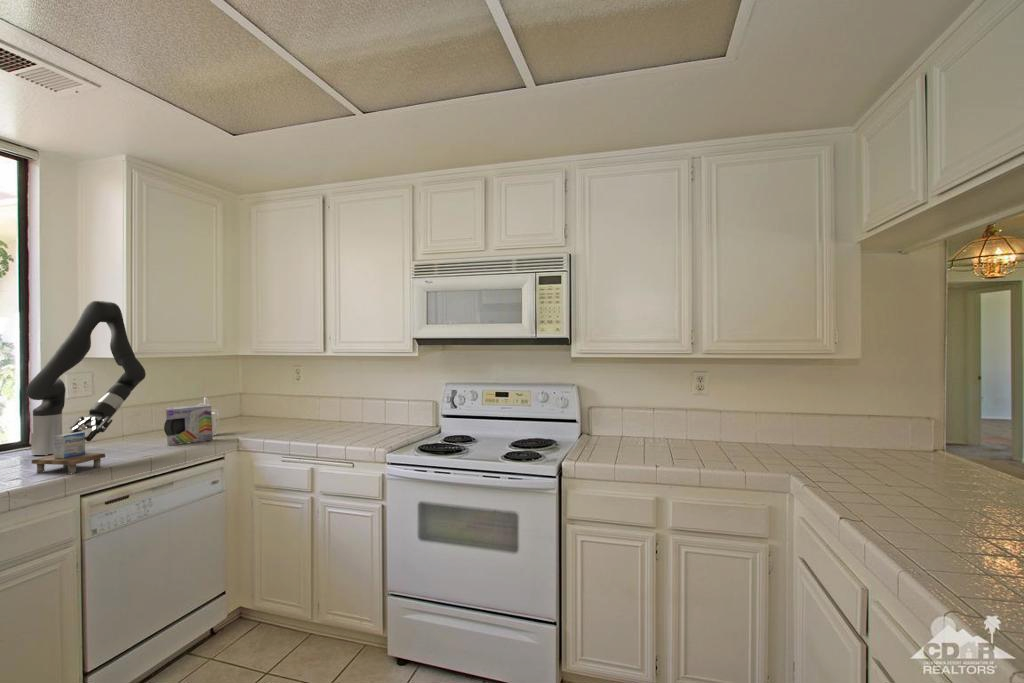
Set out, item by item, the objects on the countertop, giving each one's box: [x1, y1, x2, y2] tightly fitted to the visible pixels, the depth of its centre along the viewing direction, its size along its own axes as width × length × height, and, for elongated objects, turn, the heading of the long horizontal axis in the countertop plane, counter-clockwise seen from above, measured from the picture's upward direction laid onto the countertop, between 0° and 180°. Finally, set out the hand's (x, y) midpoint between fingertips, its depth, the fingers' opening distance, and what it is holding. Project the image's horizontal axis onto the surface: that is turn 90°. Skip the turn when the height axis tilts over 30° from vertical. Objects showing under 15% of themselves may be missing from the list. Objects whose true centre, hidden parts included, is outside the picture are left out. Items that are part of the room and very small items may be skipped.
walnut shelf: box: [31, 452, 106, 475], centre depth 180 cm, size 18×12×5 cm, turn 81°
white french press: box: [196, 396, 220, 437], centre depth 246 cm, size 10×9×20 cm
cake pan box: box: [163, 404, 214, 446], centre depth 228 cm, size 19×5×18 cm, turn 123°
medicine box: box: [53, 431, 86, 459], centre depth 181 cm, size 8×4×9 cm, turn 172°
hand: (77, 440), depth 184 cm, fingers open, 8 cm apart
